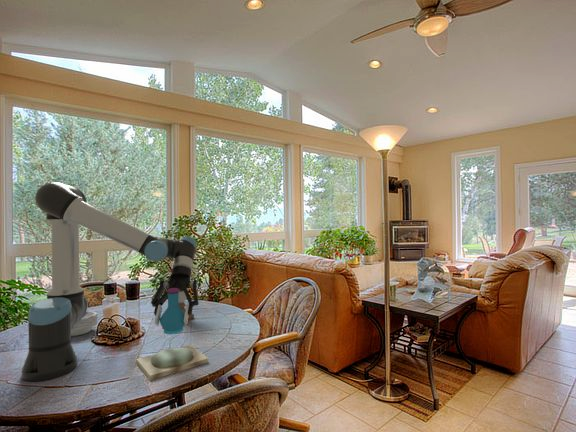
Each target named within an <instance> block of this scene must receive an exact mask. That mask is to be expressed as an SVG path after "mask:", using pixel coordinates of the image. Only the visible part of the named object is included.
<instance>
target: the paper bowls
mask: <svg viewBox="0 0 576 432" xmlns="http://www.w3.org/2000/svg"><path fill="white" fill-rule="evenodd" d="M96 325H98V313H97V312H96V311H90V310H89V311H88V310H87V311H86V313H85V315H84V316H83V318H82V319H81V320H80V321H79V322H77V323H76V324H74V325H73V326H72V327H71V337H75V336H80V335H85V334H87V333H89V332H91V331H92V328H93V327H95V326H96Z"/></svg>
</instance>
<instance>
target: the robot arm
mask: <svg viewBox="0 0 576 432" xmlns="http://www.w3.org/2000/svg"><path fill="white" fill-rule="evenodd" d="M34 200H35V203H36V206H37V207H38V208H39V210H41V212H44V213H45V215H46V221H47V222H48V223H49V224H50V225H51V289H50V290H49V291H48V292H47V293H46V299H45V298H44V299H43V300H39V301H37V302H34V304H32V305H31V306H30V307H29V310H28V315H27V320H28V322H27V323H28V327H27V328H28V352H27V356H26V358H25V361H24V363H23V366H22V369H21V379H22V380H23V381H26V382H41V381H42V382H43V381H46V380H51V379H55V378H58V377H61V376H64V375H66V374H68V373H70V372H72V371H74V370H75V369H76V367H77V366H78V358H77V354H76V351H75V350H74V347H73V345H72V336H71V327H72V326H73V325H74V324H76V323H77V322H79V321H80V320H81V319H82V318H83V316H84V315H85V313H86V312H88V308H89V307H88V306H89V305H88V300H87V298H86V297H85V289H84V288H83V287H82V286H80V226H82V227H84V228H85V229H88V230H90V231H92V232H95V233H97V234H99V235H101V236H103V237H105V238H107V239H110V240H111V241H113V242H115V243H118V244H120V245H122V246H124V247H126V248H128V249H131V250H132V251H135V252H137V253H138V254H140V255H142V256H145V258H147V260H149V261H151V262H160V261H162V260H164V259H165V258H168V259H169V258H170V259H173V262H172V267H171V268H172V269H171V271H170V272H171V276H170V275H169V279H168V281H167V280H166V281H164V280H160V282H159V286H158V289H157V290H156V292H155V293H154V296H153V297H152V300H151V301H150V304H151V305H152V307H153V308H154V311H153V314H154V316H155V318H154V324H155V326H157V327H158V326H159V323H160V318H161V316H162V312H163V307H162V306H163V305H164V303H165V302H166V301H168V294H167V293H168V292H166V291H167V290H168V289H170V288H178V289H179V290H180V291H179V292H182V291H183V292H184V293H185V296H186V300H187V303H186V304H185V309H186V310H185V316H184V323H185V325H188V323H189V320H188V317H189V315H191V314H193V309H194V307H195V306H199V304H200V303H199V296H198V289H197V288H198V285H199V284H198V283H199V282H198V280H197V279H194V280H191V277H192V270H193V266H194V261H195V260H194V259H195V255H196V251H197V250H196V248H197V242H196V240H195V238H193V237H191V236H186V235H185V236H181V237H179V239H178V240H175V239H170V238H169V239H168V238H163V237H158V236H153V235H151V234H149V233H147V232H145V231H143V230H140V229H139V228H137V227H135V226H133V225H131V224H129V223H127V222H125V221H123V220H121V219H119V218H117V217H115V216H112V215H111V214H109V213H107V212H105V211H103V210H101V209H99V208H97V207H95V206H93V205H91V204H89V203H88V199H87V197H86V195H85V193H84V192H83V191H82V190H81V189H79V188H78V187H76V186H74V185H72V184H71V185H69V184H64V183H62V182H58V181H56V182H55V181H53V182H48V183H45V184H43V185H42V186H40V187H39V188H38V189H37V190H36V193H35V197H34ZM190 285H191V287H192V292H193V293H192V294H193V300H192V298H191V296H190V294H189V291H188V287H190ZM165 289H166V290H165ZM164 291H165V292H164Z"/></svg>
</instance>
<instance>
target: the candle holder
mask: <svg viewBox="0 0 576 432" xmlns="http://www.w3.org/2000/svg"><path fill="white" fill-rule="evenodd" d="M171 272H172V271H170V272H168V275H169V277H170V276H171ZM178 292H179V291H178ZM186 300H187V298H186V296H185V293H184V291H182V292H179V293H178V305H179V307H180V308H181V309H182V311H183V312H184V313H185V310H186V303H185V302H186ZM192 319H195V314H194V313H192V314H191V315H189V317H188V321H190V320H192Z"/></svg>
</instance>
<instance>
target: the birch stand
mask: <svg viewBox="0 0 576 432" xmlns="http://www.w3.org/2000/svg"><path fill="white" fill-rule="evenodd" d="M135 363H136V365H137V366H138V367H139V368H140V370H141V371H142V372H143V373H144V375H145V376H146V377H147V379H148V380H149V381H153V380H157V379H159V378H162V377H165V376H168V375H169V376H170V375H171V374H175V373H178V372H183V371H185V370H188V369H192V368H194V367H198V366H200V365H205V364H207V363H209V357H207V356H206V355H205V354H203V353H202V352H201V351H200V350H198V349H197V348H195V347H194V346H193V345H191V344H189V345H185V346H181V347H173V348H167V349H163V350H159V351H158V352H156V353H154V354H151V355H146V356H143V357H139V358H136V362H135Z"/></svg>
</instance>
